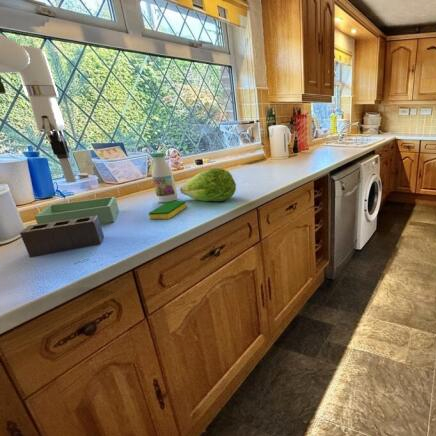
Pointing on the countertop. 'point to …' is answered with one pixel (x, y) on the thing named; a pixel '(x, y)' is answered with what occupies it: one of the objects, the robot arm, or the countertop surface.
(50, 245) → the knife rack
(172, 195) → the milk bottle
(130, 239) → the countertop surface
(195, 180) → the lettuce
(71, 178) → the knife
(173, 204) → the dish sponge
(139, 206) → the countertop surface
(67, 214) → the green tray
